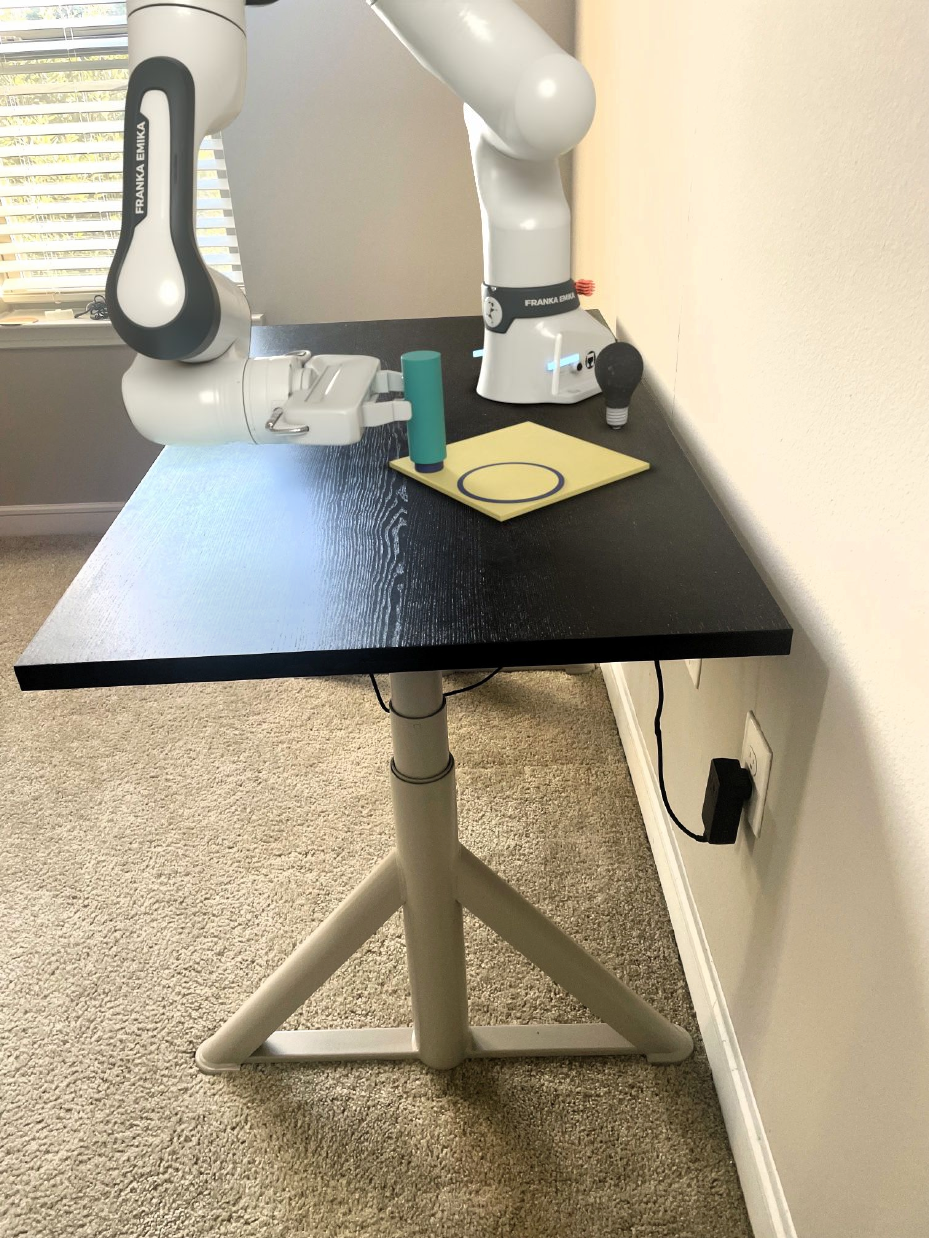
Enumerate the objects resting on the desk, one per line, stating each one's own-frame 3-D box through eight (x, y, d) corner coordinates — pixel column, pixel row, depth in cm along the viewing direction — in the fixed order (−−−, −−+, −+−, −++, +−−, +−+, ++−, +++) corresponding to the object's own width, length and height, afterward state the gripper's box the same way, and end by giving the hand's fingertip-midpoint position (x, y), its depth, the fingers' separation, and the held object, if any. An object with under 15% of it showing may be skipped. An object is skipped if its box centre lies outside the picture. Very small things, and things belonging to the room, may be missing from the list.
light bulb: (590, 421, 106) (592, 337, 100) (636, 419, 105) (641, 335, 100) (595, 436, 101) (597, 349, 96) (643, 434, 100) (648, 347, 95)
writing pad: (528, 425, 105) (528, 420, 105) (649, 468, 91) (649, 462, 91) (389, 466, 96) (389, 460, 95) (500, 521, 81) (500, 514, 81)
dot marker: (434, 458, 95) (426, 348, 89) (454, 468, 92) (448, 355, 86) (403, 467, 93) (393, 355, 87) (423, 477, 90) (414, 362, 84)
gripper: (254, 399, 79) (403, 393, 78) (298, 346, 97) (421, 341, 96) (265, 465, 82) (409, 459, 82) (306, 402, 100) (425, 397, 99)
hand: (415, 395), depth 89 cm, fingers open, 8 cm apart
